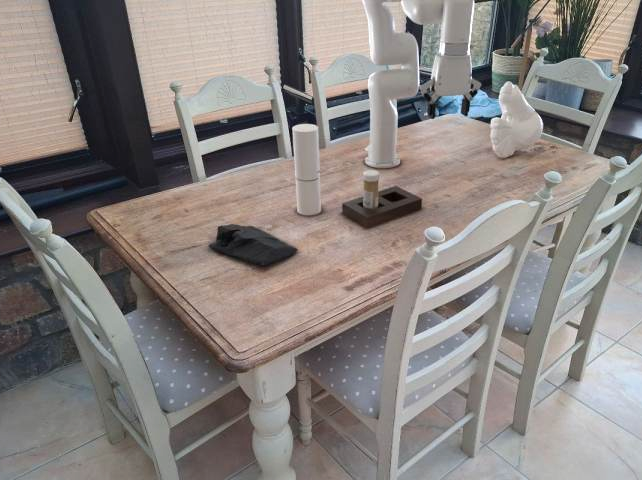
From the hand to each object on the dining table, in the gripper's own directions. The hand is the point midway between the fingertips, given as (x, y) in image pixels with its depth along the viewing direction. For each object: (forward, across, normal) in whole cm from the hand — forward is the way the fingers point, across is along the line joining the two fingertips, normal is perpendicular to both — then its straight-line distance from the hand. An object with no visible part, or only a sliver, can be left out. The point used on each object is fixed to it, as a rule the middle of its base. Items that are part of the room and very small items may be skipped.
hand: (447, 116), depth 148 cm
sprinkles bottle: (+28, +21, -1) cm, 35 cm away
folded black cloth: (+28, +57, +11) cm, 65 cm away
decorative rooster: (+28, -44, -40) cm, 66 cm away
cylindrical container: (+28, +38, -9) cm, 48 cm away
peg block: (+28, +17, -3) cm, 33 cm away
